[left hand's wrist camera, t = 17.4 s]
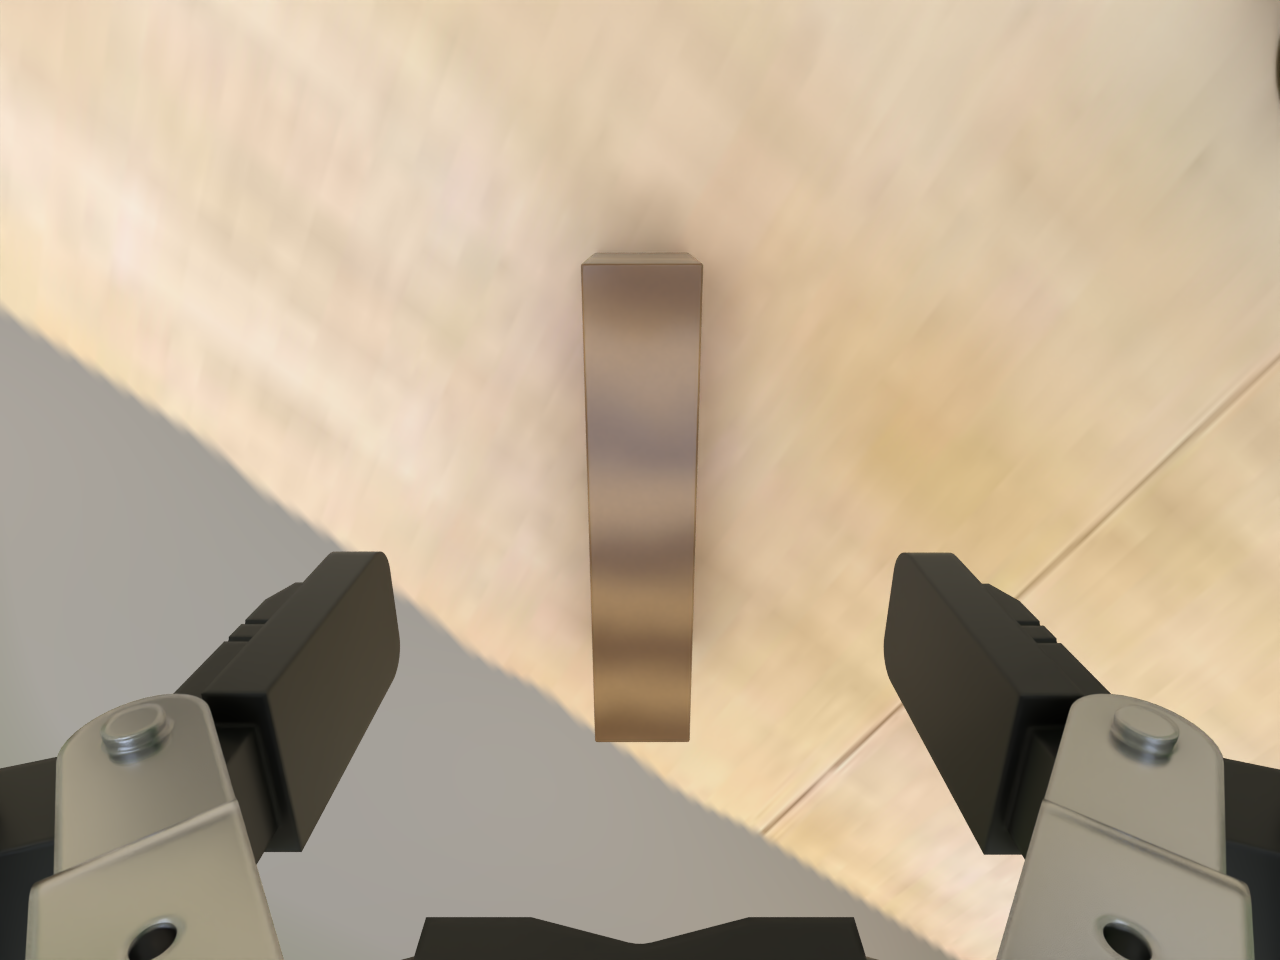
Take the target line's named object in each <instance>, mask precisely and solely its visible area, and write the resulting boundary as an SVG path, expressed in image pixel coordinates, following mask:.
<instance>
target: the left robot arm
mask: <svg viewBox="0 0 1280 960" xmlns="http://www.w3.org/2000/svg"><path fill="white" fill-rule="evenodd" d="M399 654H400V639H399V631H398V623H397V616H396V609H395V602H394V595H393V588H392V580H391V573H390V567H389V563H388V559H387V557H386V555H385V554H384V553H383V552H332V553H330V554H329V555H328V556H327V557H326V558H325V559H324V560H323V561H322V562H321V563H320V565H319V566H318V567H317V568H316V569H315V570H314V571H313V572H312V573H311V574H310V575H309V576H308V578H307V579H306V580H305V581H304V582H303V583H294V584H292V585H291V586H289V587H287V588H285V589H283V590H282V591H280V592H278V593H276V594H275V595H273V596H271V597H269V598H268V599H266V600H265V601H264V602H263V603H262V604H261V605H260V606H259V607H258V608H257V609H256V610H255V611H254V612H253V613H252V614H251V615H250V616H249V617H248V618H247V619H246V620H245V624H241V625H240V626H239V627H238V628H237V629H236V630H235V631H234V632H233V633H232V634H231V635H230V636H229V641H228V642H223V644H222V645H221V646H220V647H219V648H218V649H217V650H216V651H215V652H214V653H213V654H212V655H211V656H210V657H209V658H208V659H207V660H206V661H205V662H204V663H203V664H202V665H201V666H200V667H199V668H198V669H197V670H196V671H195V672H194V673H193V674H192V675H191V676H190V677H189V678H188V679H187V680H186V681H185V682H184V683H183V684H182V685H181V686H180V688H179V689H178V690H177V691H176V692H175V693H174V694H165V695H157V696H152V697H147V698H143V699H140V700H136V701H133V702H130V703H127V704H124V705H122V706H119V707H117V708H115V709H112V710H110V711H108V712H106V713H104V714H102V715H100V716H98V717H97V718H95V719H93V720H92V721H90V722H89V723H87V724H86V725H84V726H83V727H82V728H80V729H79V730H78V731H76V732H75V733H74V734H73V735H72V736H71V737H70V738H69V739H68V740H67V741H66V743H65V744H64V745H63V746H62V748H61V750H60V752H59V754H58V756H57V757H55V758H50V759H45V760H40V761H35V762H30V763H25V764H20V765H16V766H11V767H6V768H1V769H0V960H284V959H283V955H282V952H281V948H280V945H279V941H278V938H277V934H276V931H275V928H274V924H273V921H272V917H271V914H270V910H269V907H268V903H267V900H266V897H265V893H264V890H263V886H262V883H261V879H260V876H259V872H258V869H257V863H258V861H259V860H260V858H261V856H262V854H263V853H264V852H302V850H303V848H304V846H305V844H306V843H307V841H308V839H309V837H310V835H311V833H312V831H313V829H314V827H315V826H316V824H317V822H318V820H319V818H320V816H321V814H322V813H323V811H324V809H325V807H326V805H327V803H328V801H329V799H330V798H331V796H332V794H333V792H334V790H335V788H336V786H337V784H338V782H339V781H340V779H341V777H342V775H343V773H344V771H345V769H346V767H347V766H348V764H349V762H350V760H351V758H352V756H353V754H354V752H355V751H356V749H357V747H358V745H359V743H360V741H361V739H362V737H363V736H364V734H365V732H366V730H367V728H368V726H369V724H370V722H371V721H372V719H373V717H374V715H375V713H376V711H377V709H378V707H379V705H380V704H381V702H382V700H383V698H384V696H385V694H386V692H387V691H388V689H389V687H390V685H391V683H392V681H393V679H394V677H395V674H396V671H397V667H398V662H399ZM884 659H885V665H886V670H887V673H888V676H889V679H890V681H891V683H892V685H893V687H894V688H895V690H896V692H897V694H898V696H899V698H900V700H901V701H902V703H903V705H904V707H905V709H906V711H907V713H908V714H909V716H910V718H911V720H912V722H913V724H914V726H915V727H916V729H917V731H918V733H919V735H920V737H921V739H922V740H923V742H924V744H925V746H926V748H927V750H928V752H929V753H930V755H931V757H932V759H933V761H934V763H935V765H936V766H937V768H938V770H939V772H940V774H941V776H942V778H943V779H944V781H945V783H946V785H947V787H948V789H949V791H950V792H951V794H952V796H953V798H954V800H955V802H956V803H957V805H958V807H959V809H960V811H961V813H962V815H963V816H964V818H965V820H966V822H967V824H968V826H969V828H970V829H971V831H972V833H973V835H974V837H975V839H976V841H977V842H978V844H979V846H980V848H981V850H982V852H983V854H984V855H1023V857H1024V859H1025V862H1024V865H1023V869H1022V872H1021V876H1020V879H1019V883H1018V886H1017V890H1016V893H1015V896H1014V900H1013V903H1012V907H1011V910H1010V914H1009V917H1008V921H1007V924H1006V928H1005V931H1004V934H1003V938H1002V941H1001V945H1000V948H999V952H998V955H997V959H996V960H1280V770H1279V769H1274V768H1269V767H1264V766H1259V765H1255V764H1250V763H1245V762H1240V761H1235V760H1230V759H1226V758H1223V756H1222V754H1221V752H1220V750H1219V748H1218V746H1217V745H1216V744H1215V743H1214V741H1213V740H1212V739H1211V738H1210V737H1209V736H1208V735H1207V734H1206V733H1205V732H1204V731H1202V730H1201V729H1200V728H1198V727H1197V726H1196V725H1194V724H1193V723H1191V722H1190V721H1188V720H1187V719H1185V718H1183V717H1182V716H1180V715H1178V714H1176V713H1174V712H1172V711H1170V710H1168V709H1165V708H1163V707H1161V706H1158V705H1156V704H1153V703H1150V702H1147V701H1144V700H1140V699H1137V698H1133V697H1128V696H1123V695H1115V694H1111V693H1110V692H1109V691H1108V690H1107V689H1106V688H1105V687H1104V686H1103V685H1102V684H1101V683H1100V682H1099V681H1098V680H1097V679H1096V678H1095V677H1094V676H1093V675H1092V674H1091V673H1090V672H1089V671H1088V670H1087V669H1086V668H1085V667H1084V666H1083V665H1082V664H1081V663H1080V662H1079V661H1078V660H1077V659H1076V658H1075V657H1074V656H1073V655H1072V654H1071V653H1070V652H1069V651H1068V650H1067V649H1066V648H1065V647H1064V646H1063V645H1062V644H1061V643H1057V641H1056V638H1055V637H1054V636H1053V635H1052V634H1051V633H1050V632H1049V631H1048V630H1047V629H1046V628H1045V626H1040V621H1039V620H1038V619H1037V618H1036V617H1035V616H1034V615H1033V614H1032V613H1031V612H1030V611H1029V610H1028V609H1027V608H1026V607H1025V606H1024V605H1023V604H1022V603H1021V602H1020V601H1018V600H1017V599H1015V598H1013V597H1011V596H1010V595H1008V594H1006V593H1004V592H1002V591H1001V590H999V589H997V588H995V587H994V586H992V585H990V584H982V583H981V582H980V581H979V580H978V579H977V578H976V577H975V576H974V575H973V574H972V573H971V572H970V571H969V569H968V568H967V567H966V566H965V565H964V564H963V563H962V562H961V561H960V560H959V559H958V558H957V557H956V556H955V555H954V554H952V553H901V554H900V555H899V556H898V558H897V560H896V563H895V567H894V573H893V580H892V587H891V594H890V601H889V608H888V616H887V623H886V630H885V637H884ZM403 960H877V959H873V958H870V957H866V956H865V953H864V949H863V946H862V943H861V939H860V936H859V933H858V930H857V926H856V923H855V920H854V917H748V918H744V919H741V920H737V921H733V922H729V923H725V924H721V925H717V926H714V927H710V928H706V929H702V930H698V931H694V932H690V933H687V934H683V935H679V936H675V937H671V938H667V939H663V940H660V941H656V942H652V943H646V944H634V943H628V942H624V941H620V940H617V939H613V938H609V937H605V936H601V935H597V934H593V933H590V932H586V931H582V930H578V929H574V928H570V927H567V926H563V925H559V924H555V923H551V922H547V921H543V920H540V919H536V918H532V917H426V920H425V923H424V926H423V930H422V933H421V936H420V939H419V943H418V946H417V949H416V953H415V956H414V957H410V958H407V959H403Z"/></svg>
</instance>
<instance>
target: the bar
mask: <svg viewBox="0 0 1280 960" xmlns="http://www.w3.org/2000/svg"><path fill="white" fill-rule="evenodd" d="M581 282H582V315H583V348H584V382H585V415H586V449H587V482H588V515H589V549H590V582H591V616H592V649H593V682H594V716H595V741H596V742H689V740H690V706H691V671H692V635H693V600H694V565H695V529H696V494H697V459H698V423H699V388H700V352H701V317H702V282H703V265H702V263H700V262H699V261H698V260H696V259H695V258H694V257H693V256H691V255H690V254H689V253H595V254H593V255H592V256H591V257H590V258H589V259H587V260H586V261H585V262H584V263H583V264H582V265H581Z"/></svg>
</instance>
